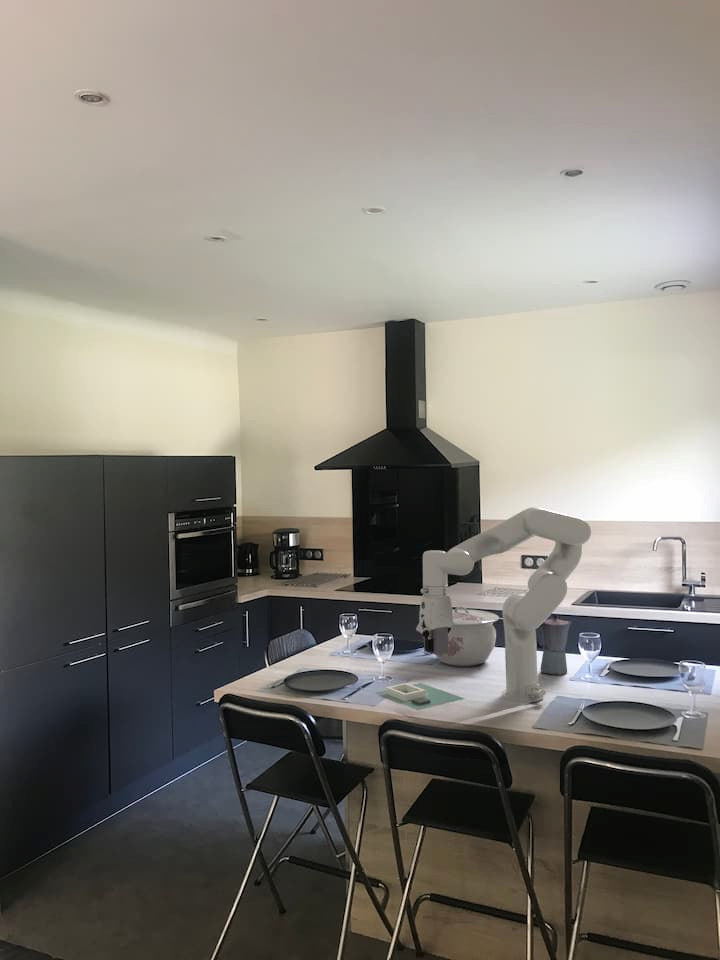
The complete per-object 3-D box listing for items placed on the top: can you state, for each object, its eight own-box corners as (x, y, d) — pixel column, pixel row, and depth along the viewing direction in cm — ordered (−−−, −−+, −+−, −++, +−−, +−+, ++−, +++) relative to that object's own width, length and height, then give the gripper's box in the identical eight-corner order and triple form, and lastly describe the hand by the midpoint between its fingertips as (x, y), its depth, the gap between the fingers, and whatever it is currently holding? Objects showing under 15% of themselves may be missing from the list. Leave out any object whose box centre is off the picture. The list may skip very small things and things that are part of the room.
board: (465, 702, 229) (464, 691, 229) (417, 713, 219) (417, 703, 219) (420, 686, 248) (420, 676, 248) (375, 696, 238) (375, 686, 238)
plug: (447, 652, 230) (447, 626, 230) (436, 654, 228) (436, 628, 228) (433, 648, 236) (433, 623, 236) (422, 650, 233) (422, 624, 233)
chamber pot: (500, 672, 262) (498, 613, 262) (421, 670, 268) (419, 612, 267) (501, 653, 289) (499, 599, 289) (430, 652, 295) (428, 599, 295)
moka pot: (580, 672, 259) (578, 614, 258) (542, 678, 253) (541, 619, 253) (563, 666, 267) (561, 610, 267) (526, 672, 262) (524, 614, 262)
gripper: (421, 595, 224) (421, 656, 224) (464, 590, 233) (464, 649, 233) (405, 592, 230) (406, 652, 230) (448, 587, 239) (449, 644, 239)
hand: (435, 649), depth 231 cm, fingers closed on plug, 4 cm apart
